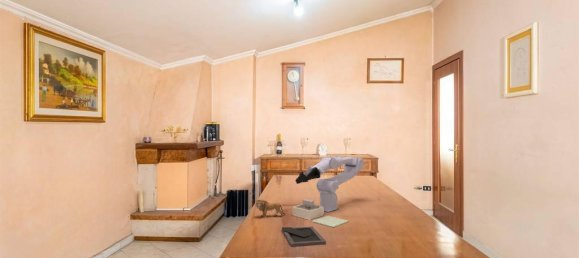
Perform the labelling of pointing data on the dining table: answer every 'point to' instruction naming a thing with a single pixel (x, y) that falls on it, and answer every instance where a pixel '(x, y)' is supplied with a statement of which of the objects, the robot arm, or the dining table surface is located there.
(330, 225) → the sage mat
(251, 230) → the dining table surface
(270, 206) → the lion figurine
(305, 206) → the grey cover
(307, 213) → the tray
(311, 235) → the picture frame
